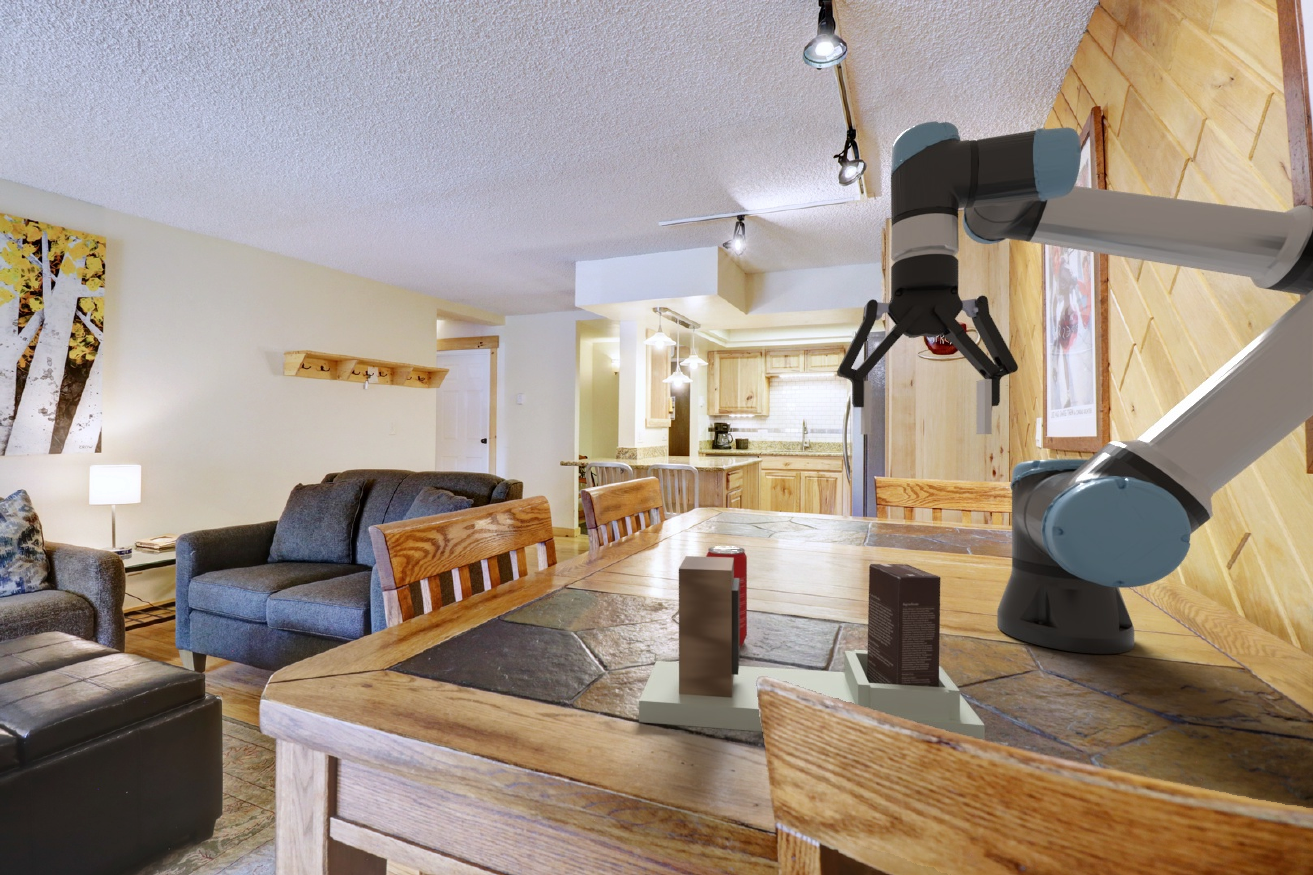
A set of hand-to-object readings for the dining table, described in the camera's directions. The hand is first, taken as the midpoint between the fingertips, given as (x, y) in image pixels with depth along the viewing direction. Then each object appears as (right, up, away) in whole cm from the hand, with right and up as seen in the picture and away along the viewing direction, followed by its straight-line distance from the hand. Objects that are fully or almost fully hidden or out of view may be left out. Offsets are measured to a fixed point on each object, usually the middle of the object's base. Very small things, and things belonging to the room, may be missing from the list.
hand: (923, 434), depth 74 cm
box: (-9, -25, -17) cm, 32 cm away
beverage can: (-24, -27, +4) cm, 36 cm away
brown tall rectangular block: (-27, -25, -14) cm, 39 cm away
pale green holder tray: (-19, -27, -15) cm, 36 cm away
